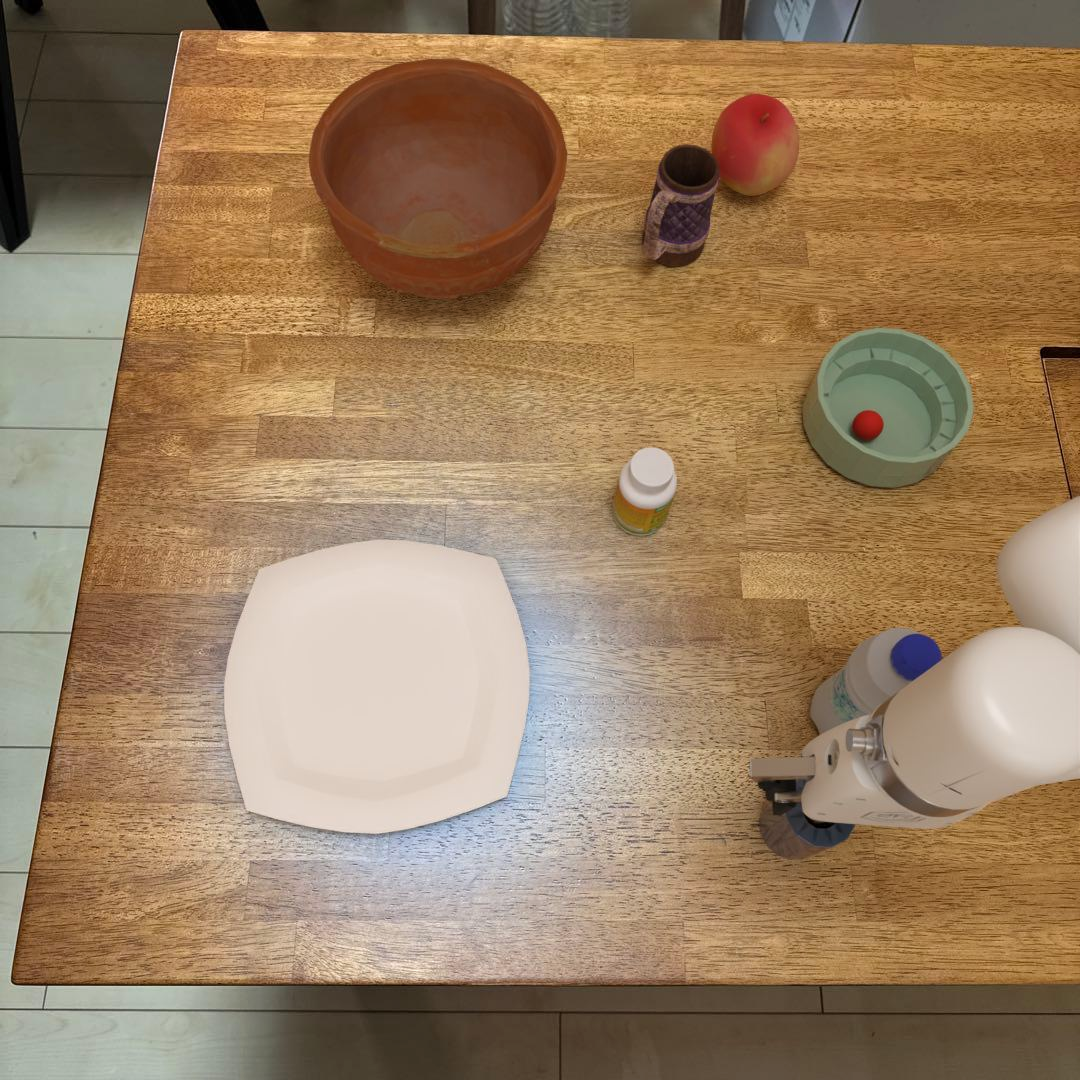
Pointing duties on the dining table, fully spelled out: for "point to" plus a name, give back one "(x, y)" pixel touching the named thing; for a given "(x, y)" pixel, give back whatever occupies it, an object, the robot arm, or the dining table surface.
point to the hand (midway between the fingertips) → (842, 798)
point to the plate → (376, 687)
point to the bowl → (439, 174)
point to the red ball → (867, 425)
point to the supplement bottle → (645, 492)
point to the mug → (680, 206)
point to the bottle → (873, 676)
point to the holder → (799, 832)
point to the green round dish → (887, 406)
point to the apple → (755, 144)
